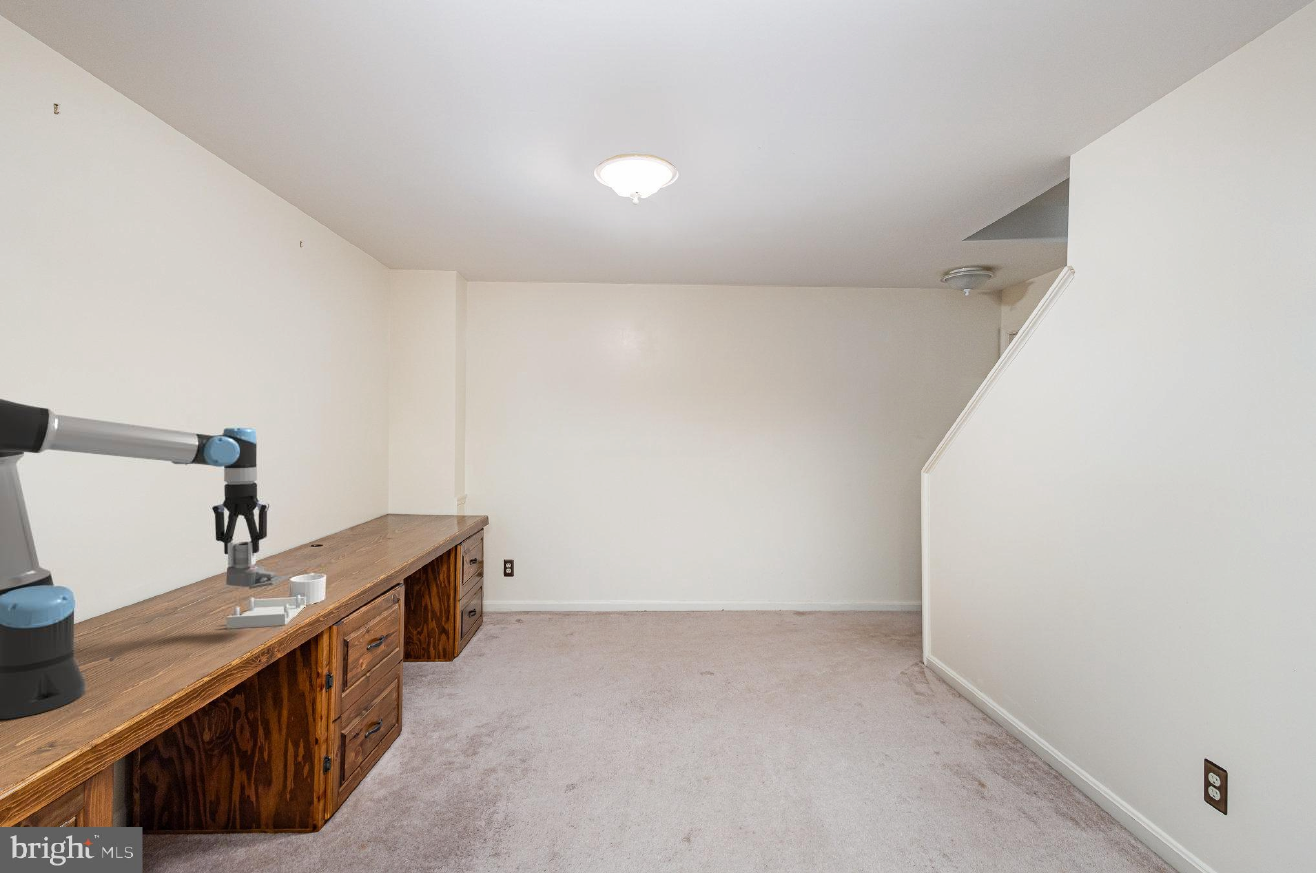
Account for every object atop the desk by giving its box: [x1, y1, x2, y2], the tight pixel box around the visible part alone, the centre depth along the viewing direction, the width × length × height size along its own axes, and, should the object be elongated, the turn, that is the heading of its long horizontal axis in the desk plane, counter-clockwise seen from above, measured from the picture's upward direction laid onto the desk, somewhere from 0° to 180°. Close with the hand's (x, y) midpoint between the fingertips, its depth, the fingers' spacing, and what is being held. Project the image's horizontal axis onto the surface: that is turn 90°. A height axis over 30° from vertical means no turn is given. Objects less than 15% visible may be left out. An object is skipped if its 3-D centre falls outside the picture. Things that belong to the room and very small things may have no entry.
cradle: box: [226, 595, 307, 630], centre depth 180 cm, size 18×15×5 cm
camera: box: [225, 541, 294, 590], centre depth 167 cm, size 9×12×15 cm
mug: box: [289, 572, 327, 606], centre depth 198 cm, size 13×10×8 cm
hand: (242, 564), depth 166 cm, fingers closed on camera, 4 cm apart
